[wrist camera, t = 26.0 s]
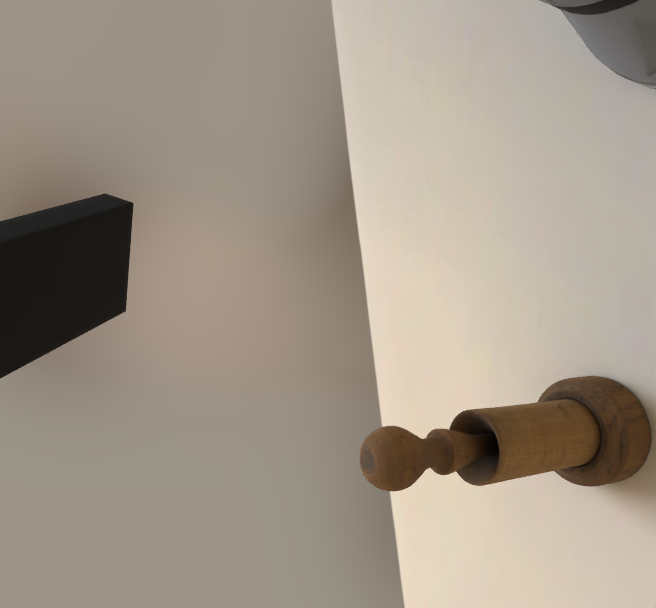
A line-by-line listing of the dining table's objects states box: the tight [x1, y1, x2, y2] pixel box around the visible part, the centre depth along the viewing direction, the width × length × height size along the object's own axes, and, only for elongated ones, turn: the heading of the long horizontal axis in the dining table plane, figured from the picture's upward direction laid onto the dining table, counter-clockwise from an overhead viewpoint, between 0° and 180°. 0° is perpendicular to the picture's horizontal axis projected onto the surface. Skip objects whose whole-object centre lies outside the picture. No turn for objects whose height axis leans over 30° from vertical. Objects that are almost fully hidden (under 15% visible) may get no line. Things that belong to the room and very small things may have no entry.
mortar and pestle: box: [360, 376, 650, 491], centre depth 34 cm, size 7×6×18 cm
